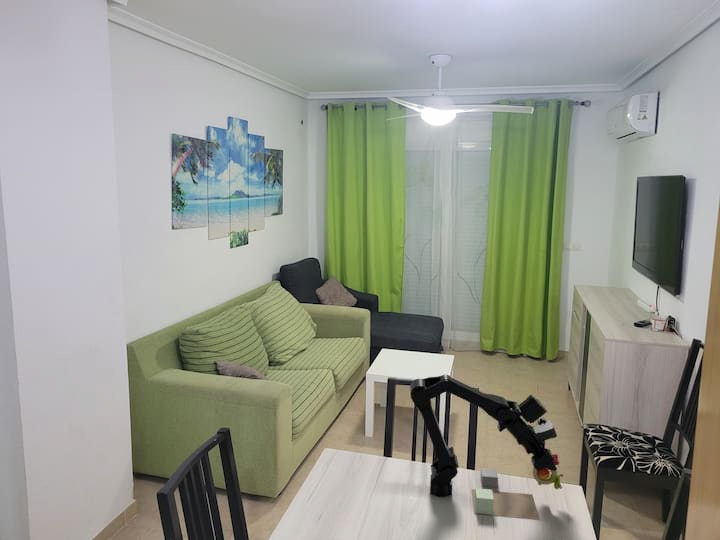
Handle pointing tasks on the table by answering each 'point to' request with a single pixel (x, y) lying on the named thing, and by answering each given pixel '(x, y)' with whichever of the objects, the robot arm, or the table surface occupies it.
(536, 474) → the bird rattle
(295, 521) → the table surface
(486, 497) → the sage block
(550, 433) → the robot arm
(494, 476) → the grey block
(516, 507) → the walnut board
